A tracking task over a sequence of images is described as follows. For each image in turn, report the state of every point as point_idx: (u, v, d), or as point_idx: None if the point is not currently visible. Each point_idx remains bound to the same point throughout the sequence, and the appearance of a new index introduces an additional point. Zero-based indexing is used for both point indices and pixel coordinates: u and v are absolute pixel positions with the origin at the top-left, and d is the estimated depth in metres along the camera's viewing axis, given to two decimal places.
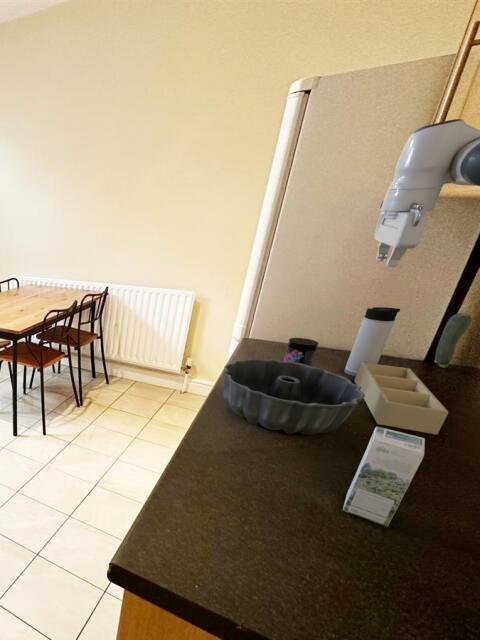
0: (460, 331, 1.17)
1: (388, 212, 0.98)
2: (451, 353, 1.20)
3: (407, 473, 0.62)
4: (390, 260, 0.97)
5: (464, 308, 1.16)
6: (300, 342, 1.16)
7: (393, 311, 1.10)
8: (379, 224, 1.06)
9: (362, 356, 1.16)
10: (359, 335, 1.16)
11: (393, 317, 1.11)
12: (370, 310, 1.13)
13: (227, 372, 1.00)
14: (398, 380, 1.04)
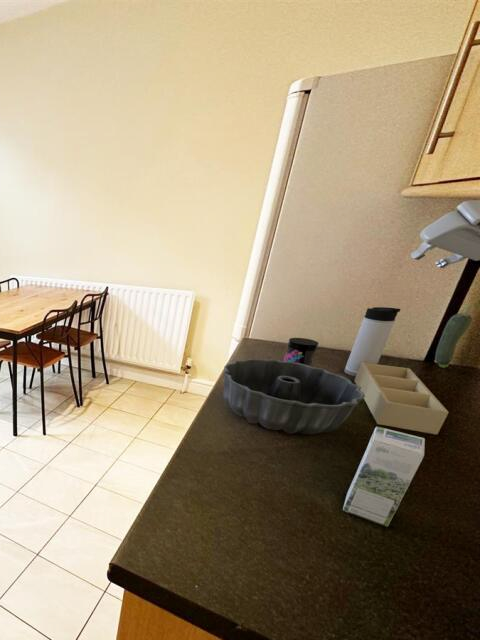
0: (460, 331, 1.17)
1: None
2: (451, 353, 1.20)
3: (407, 473, 0.62)
4: None
5: (464, 308, 1.16)
6: (300, 342, 1.16)
7: (393, 311, 1.10)
8: (449, 233, 0.98)
9: (362, 356, 1.16)
10: (359, 335, 1.16)
11: (393, 317, 1.11)
12: (370, 310, 1.13)
13: (227, 372, 1.00)
14: (398, 380, 1.04)
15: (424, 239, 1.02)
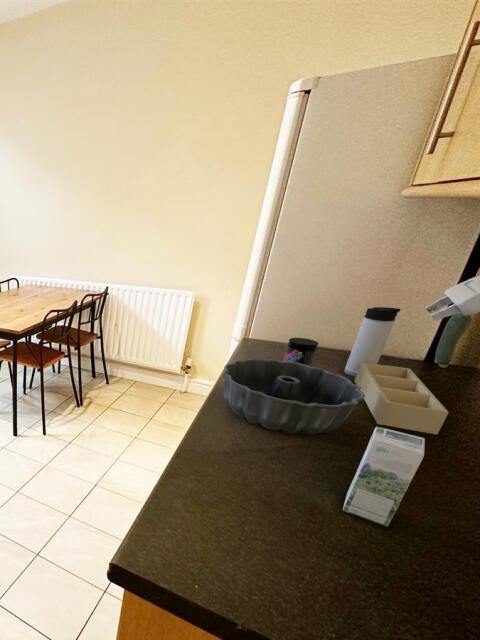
0: (460, 331, 1.17)
1: None
2: (451, 353, 1.20)
3: (407, 473, 0.62)
4: None
5: None
6: (300, 342, 1.16)
7: (393, 311, 1.10)
8: None
9: (362, 356, 1.16)
10: (359, 335, 1.16)
11: (393, 317, 1.11)
12: (370, 310, 1.13)
13: (227, 372, 1.00)
14: (398, 380, 1.04)
15: (465, 311, 0.97)
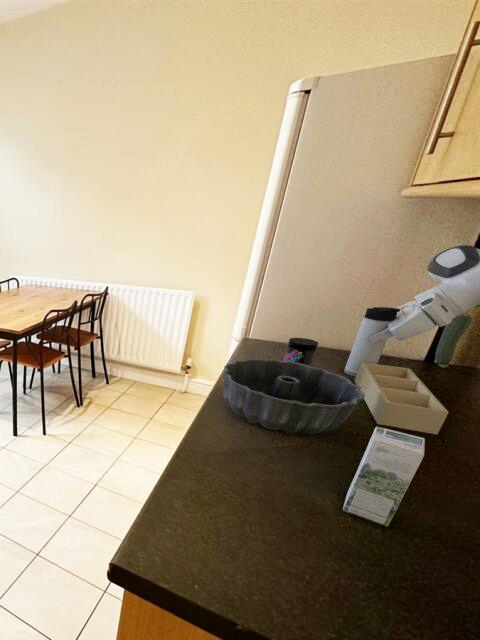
0: (460, 331, 1.17)
1: None
2: (451, 353, 1.20)
3: (407, 473, 0.62)
4: None
5: None
6: (300, 342, 1.16)
7: (393, 311, 1.10)
8: None
9: (362, 356, 1.16)
10: (359, 334, 1.16)
11: (393, 317, 1.11)
12: (370, 310, 1.13)
13: (227, 372, 1.00)
14: (398, 380, 1.04)
15: (397, 336, 1.06)
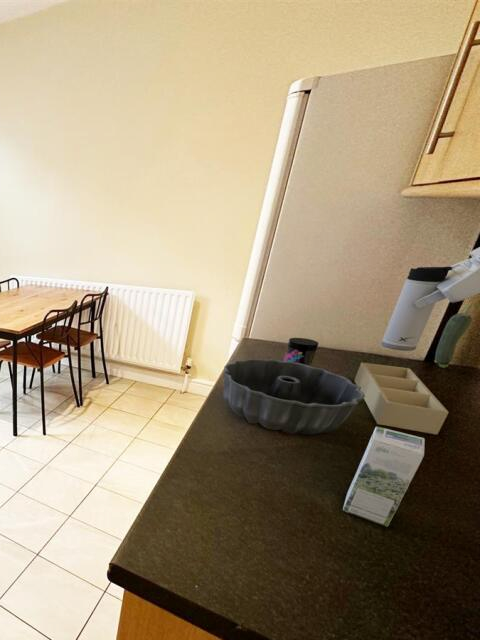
0: (460, 331, 1.17)
1: None
2: (451, 353, 1.20)
3: (407, 473, 0.62)
4: None
5: (464, 308, 1.16)
6: (300, 342, 1.16)
7: (444, 270, 0.93)
8: None
9: (404, 325, 0.99)
10: (400, 300, 1.00)
11: (443, 277, 0.94)
12: (415, 270, 0.96)
13: (227, 372, 1.00)
14: (398, 380, 1.04)
15: (450, 298, 0.89)
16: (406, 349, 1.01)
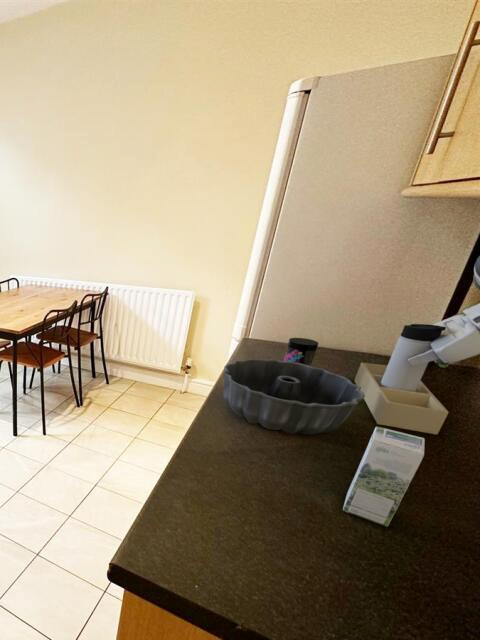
0: None
1: None
2: None
3: (407, 473, 0.62)
4: None
5: (464, 308, 1.16)
6: (300, 342, 1.16)
7: (437, 330, 0.92)
8: None
9: (398, 382, 0.98)
10: (394, 356, 0.99)
11: (437, 337, 0.93)
12: (408, 328, 0.95)
13: (227, 372, 1.00)
14: None
15: (444, 359, 0.88)
16: None
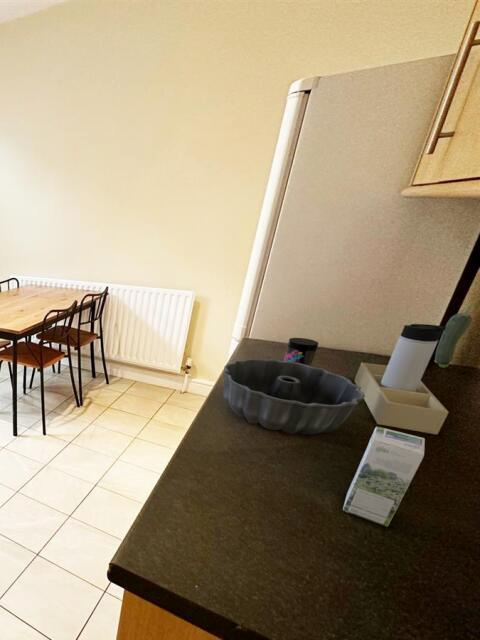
0: (460, 331, 1.17)
1: None
2: (451, 353, 1.20)
3: (407, 473, 0.62)
4: None
5: (464, 308, 1.16)
6: (300, 342, 1.16)
7: (437, 330, 0.92)
8: None
9: (398, 382, 0.98)
10: (394, 356, 0.99)
11: (437, 337, 0.93)
12: (408, 328, 0.95)
13: (227, 372, 1.00)
14: None
15: None
16: None
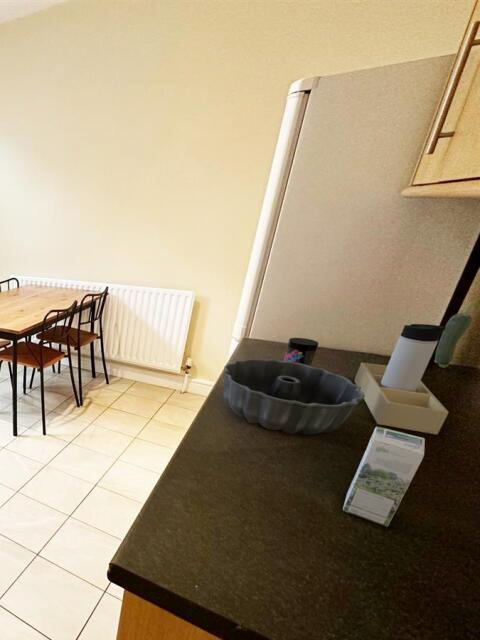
0: (460, 331, 1.17)
1: None
2: (451, 353, 1.20)
3: (407, 473, 0.62)
4: None
5: (464, 308, 1.16)
6: (300, 342, 1.16)
7: (437, 330, 0.92)
8: None
9: (398, 382, 0.98)
10: (394, 356, 0.99)
11: (437, 337, 0.93)
12: (408, 328, 0.95)
13: (227, 372, 1.00)
14: None
15: None
16: None
